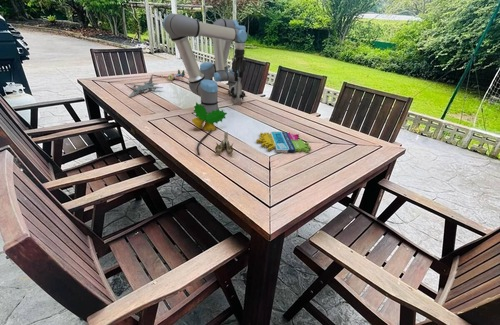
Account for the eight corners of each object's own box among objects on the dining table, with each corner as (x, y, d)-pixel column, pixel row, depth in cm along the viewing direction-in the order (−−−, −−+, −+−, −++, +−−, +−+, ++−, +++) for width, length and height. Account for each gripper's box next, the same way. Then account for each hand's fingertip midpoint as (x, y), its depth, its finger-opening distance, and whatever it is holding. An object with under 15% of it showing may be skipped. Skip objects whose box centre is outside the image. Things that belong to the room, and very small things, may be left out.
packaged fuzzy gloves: (313, 150, 142) (258, 149, 139) (312, 153, 143) (258, 152, 140) (301, 132, 164) (254, 130, 161) (301, 134, 165) (254, 133, 162)
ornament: (218, 133, 171) (224, 110, 169) (221, 134, 163) (227, 111, 161) (186, 125, 162) (192, 101, 160) (189, 126, 155) (195, 101, 153)
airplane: (123, 87, 237) (120, 75, 231) (158, 84, 250) (157, 74, 245) (127, 99, 208) (125, 87, 203) (167, 96, 221) (166, 84, 216)
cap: (242, 80, 207) (242, 77, 206) (239, 81, 203) (239, 78, 202) (237, 79, 208) (237, 76, 207) (234, 80, 205) (234, 77, 203)
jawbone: (234, 135, 144) (233, 125, 135) (233, 160, 138) (232, 151, 129) (217, 135, 144) (216, 125, 135) (216, 160, 138) (214, 150, 129)
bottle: (235, 102, 218) (236, 77, 208) (242, 103, 217) (243, 78, 207) (232, 104, 213) (233, 78, 203) (239, 105, 211) (240, 79, 202)
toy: (193, 70, 288) (180, 75, 262) (193, 77, 292) (181, 82, 266) (170, 68, 293) (155, 72, 267) (170, 75, 297) (156, 79, 271)
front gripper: (234, 49, 186) (233, 83, 198) (251, 49, 198) (249, 80, 209) (227, 48, 191) (226, 81, 202) (244, 47, 202) (242, 78, 214)
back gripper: (245, 94, 231) (250, 102, 211) (223, 94, 227) (226, 102, 207) (245, 86, 227) (250, 93, 207) (223, 85, 223) (226, 92, 204)
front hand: (238, 80), depth 206 cm, fingers closed on cap, 4 cm apart
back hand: (238, 97), depth 207 cm, fingers closed on bottle, 6 cm apart
